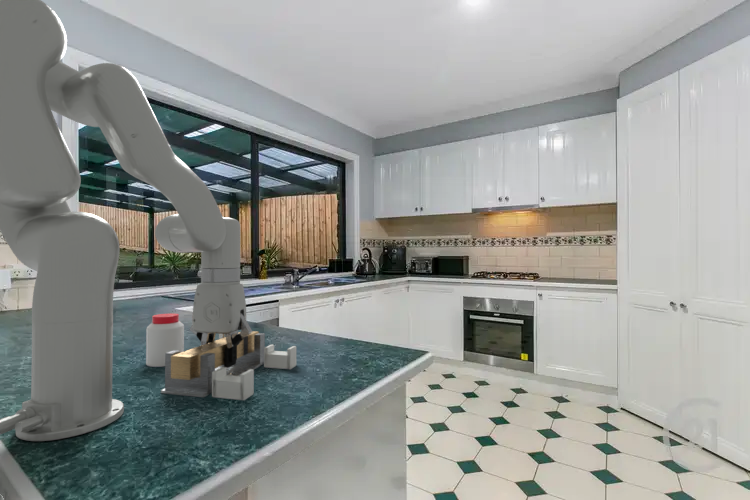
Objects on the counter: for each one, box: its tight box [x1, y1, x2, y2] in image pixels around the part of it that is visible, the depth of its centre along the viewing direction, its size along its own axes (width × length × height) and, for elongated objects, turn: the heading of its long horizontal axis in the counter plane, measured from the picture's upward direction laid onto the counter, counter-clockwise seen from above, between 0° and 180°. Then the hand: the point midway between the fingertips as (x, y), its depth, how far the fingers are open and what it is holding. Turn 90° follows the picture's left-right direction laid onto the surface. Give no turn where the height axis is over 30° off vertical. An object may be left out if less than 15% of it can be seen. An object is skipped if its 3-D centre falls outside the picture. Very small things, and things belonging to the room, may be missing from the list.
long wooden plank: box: [171, 330, 260, 380], centre depth 78 cm, size 23×4×4 cm, turn 167°
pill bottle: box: [145, 313, 185, 368], centre depth 88 cm, size 8×8×11 cm
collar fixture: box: [160, 332, 266, 398], centre depth 78 cm, size 22×9×9 cm, turn 167°
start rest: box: [211, 344, 297, 401], centre depth 76 cm, size 21×6×4 cm, turn 167°
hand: (220, 364), depth 78 cm, fingers closed on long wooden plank, 4 cm apart
